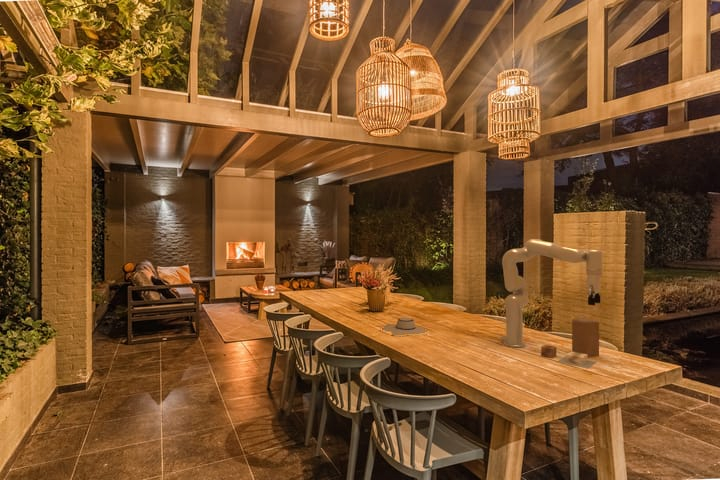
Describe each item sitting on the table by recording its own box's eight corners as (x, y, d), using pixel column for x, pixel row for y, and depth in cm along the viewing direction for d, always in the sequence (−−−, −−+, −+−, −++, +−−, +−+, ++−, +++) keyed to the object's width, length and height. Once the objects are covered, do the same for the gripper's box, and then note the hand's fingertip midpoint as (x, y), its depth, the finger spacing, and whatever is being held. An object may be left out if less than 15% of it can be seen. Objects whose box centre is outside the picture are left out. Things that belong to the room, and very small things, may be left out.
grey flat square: (556, 363, 210) (556, 362, 210) (566, 357, 221) (566, 356, 221) (588, 370, 200) (588, 368, 200) (597, 363, 210) (596, 361, 210)
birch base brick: (566, 362, 210) (566, 354, 210) (571, 358, 216) (571, 351, 216) (582, 365, 205) (582, 357, 205) (587, 361, 210) (587, 354, 210)
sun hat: (370, 330, 290) (370, 318, 290) (404, 324, 313) (404, 312, 313) (406, 340, 262) (406, 326, 262) (441, 331, 285) (441, 319, 285)
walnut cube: (541, 357, 221) (541, 347, 221) (545, 355, 225) (545, 344, 225) (552, 360, 217) (552, 349, 217) (556, 357, 221) (556, 346, 221)
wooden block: (585, 358, 219) (585, 322, 219) (571, 353, 228) (571, 318, 228) (600, 357, 221) (599, 321, 221) (585, 352, 231) (585, 317, 231)
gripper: (591, 271, 224) (591, 301, 224) (581, 273, 212) (581, 305, 212) (606, 271, 218) (606, 302, 218) (597, 273, 206) (597, 306, 206)
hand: (594, 303), depth 215 cm, fingers open, 9 cm apart
